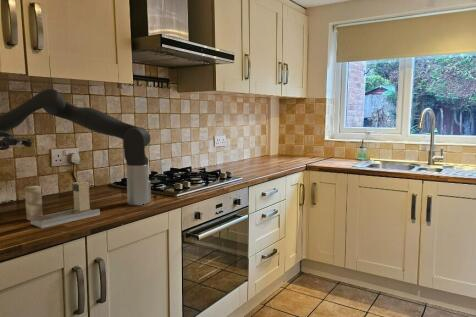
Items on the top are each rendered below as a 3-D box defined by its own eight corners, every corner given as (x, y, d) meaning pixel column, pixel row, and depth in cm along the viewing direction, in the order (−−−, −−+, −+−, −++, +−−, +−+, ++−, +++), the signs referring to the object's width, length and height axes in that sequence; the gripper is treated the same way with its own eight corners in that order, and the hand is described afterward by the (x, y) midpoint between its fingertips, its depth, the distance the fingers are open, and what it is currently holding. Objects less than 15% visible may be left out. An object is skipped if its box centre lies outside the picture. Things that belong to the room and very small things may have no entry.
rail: (88, 211, 148) (87, 179, 147) (100, 214, 143) (98, 181, 142) (30, 224, 131) (28, 187, 129) (41, 228, 126) (39, 190, 125)
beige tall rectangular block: (39, 216, 141) (37, 185, 140) (44, 218, 138) (42, 186, 137) (26, 219, 137) (24, 187, 136) (31, 221, 135) (29, 188, 134)
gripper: (-23, 129, 140) (-3, 134, 132) (16, 129, 152) (37, 134, 144) (-23, 149, 142) (-3, 155, 133) (16, 148, 153) (37, 153, 145)
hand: (18, 144), depth 138 cm, fingers open, 8 cm apart
